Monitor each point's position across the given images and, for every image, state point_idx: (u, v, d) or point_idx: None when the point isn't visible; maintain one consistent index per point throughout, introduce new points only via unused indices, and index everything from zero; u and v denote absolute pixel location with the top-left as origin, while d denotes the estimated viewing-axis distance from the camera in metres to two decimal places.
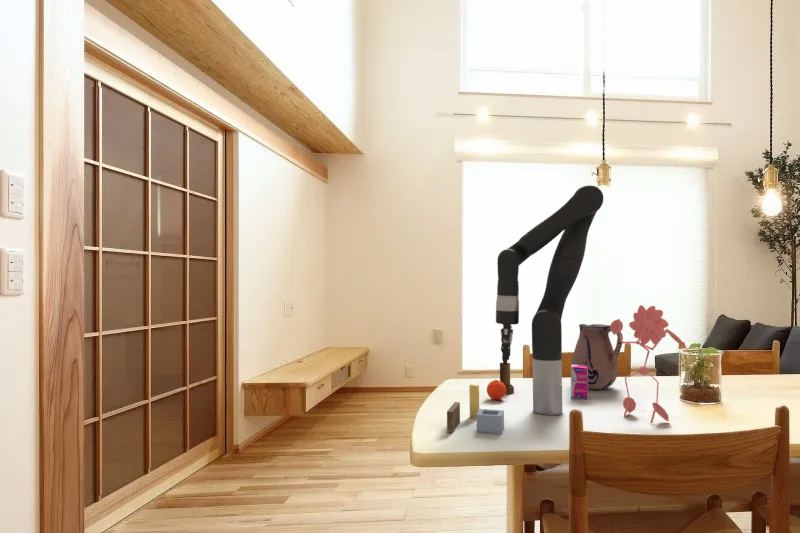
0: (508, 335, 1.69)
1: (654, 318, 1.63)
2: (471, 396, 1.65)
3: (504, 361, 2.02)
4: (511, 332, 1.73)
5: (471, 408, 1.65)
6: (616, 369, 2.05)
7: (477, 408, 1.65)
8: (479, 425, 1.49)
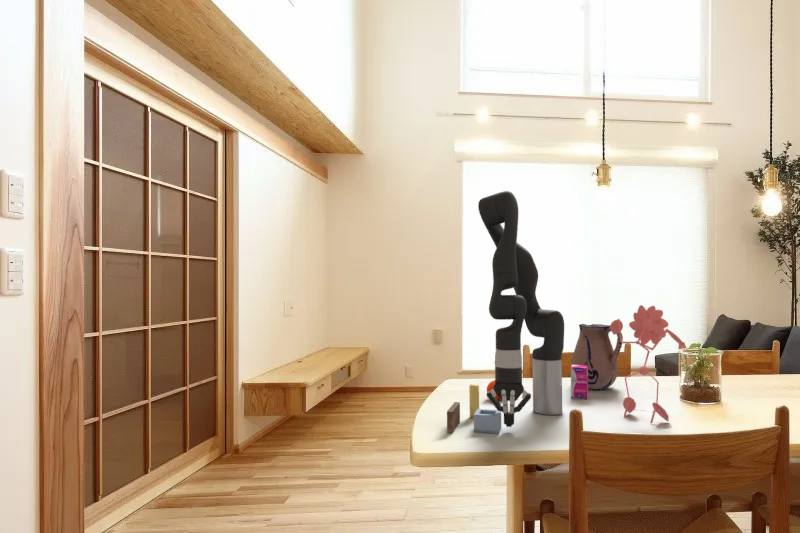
0: None
1: (654, 318, 1.63)
2: (471, 396, 1.65)
3: None
4: None
5: (471, 408, 1.65)
6: (616, 369, 2.05)
7: (477, 408, 1.65)
8: (476, 425, 1.49)
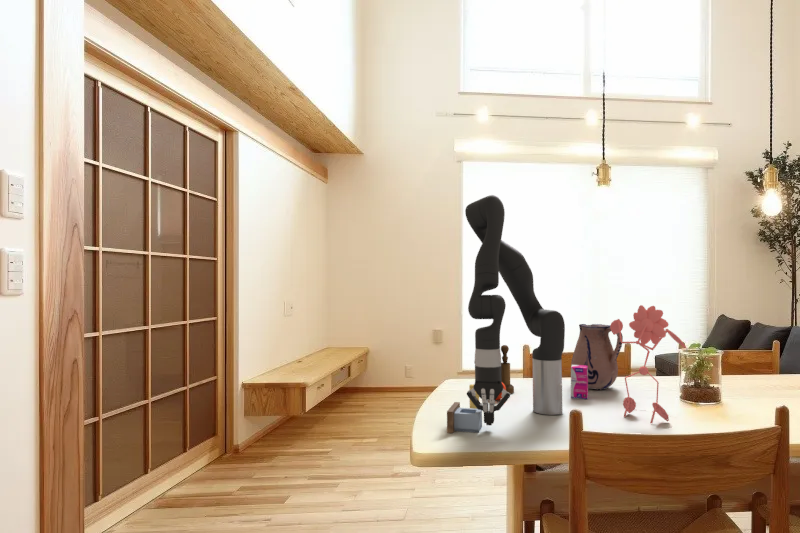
0: None
1: (654, 318, 1.63)
2: None
3: (504, 361, 2.02)
4: None
5: None
6: (616, 369, 2.05)
7: None
8: (457, 423, 1.51)
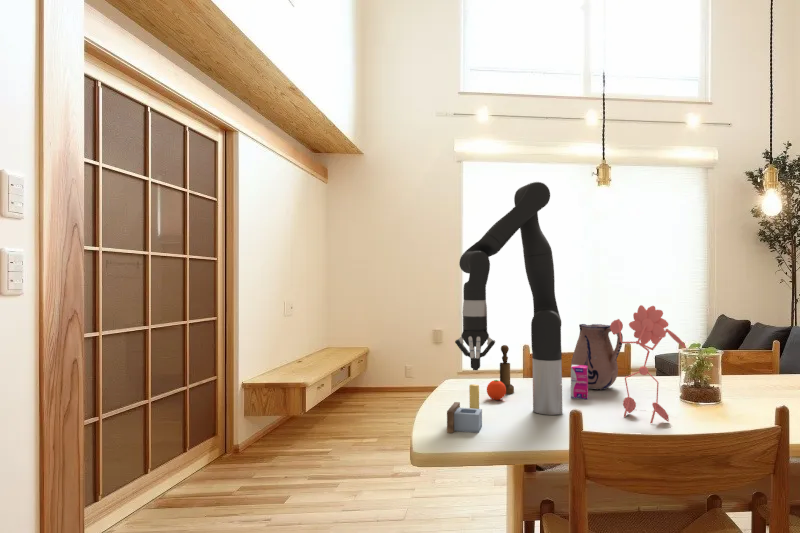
0: None
1: (654, 318, 1.63)
2: (471, 396, 1.65)
3: (504, 361, 2.02)
4: None
5: None
6: (616, 369, 2.05)
7: (477, 408, 1.65)
8: (457, 423, 1.51)
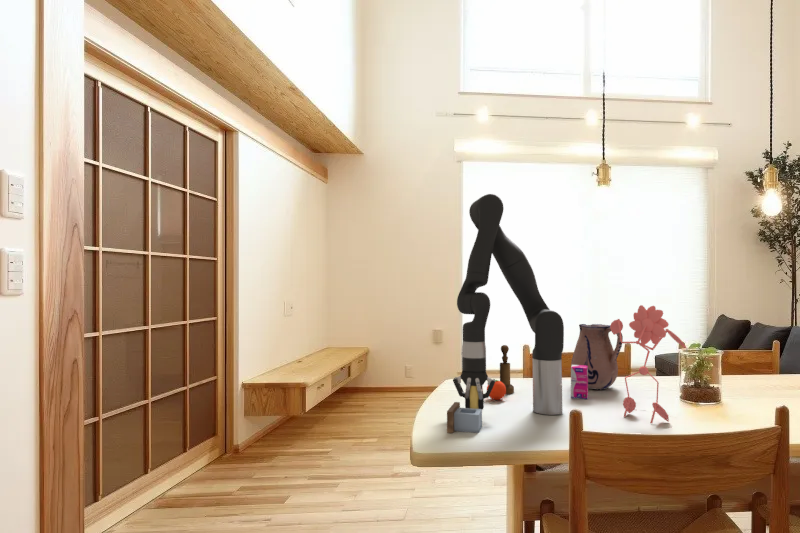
0: None
1: (654, 318, 1.63)
2: (471, 396, 1.65)
3: (504, 361, 2.02)
4: None
5: None
6: (616, 369, 2.05)
7: (477, 408, 1.65)
8: (457, 423, 1.51)
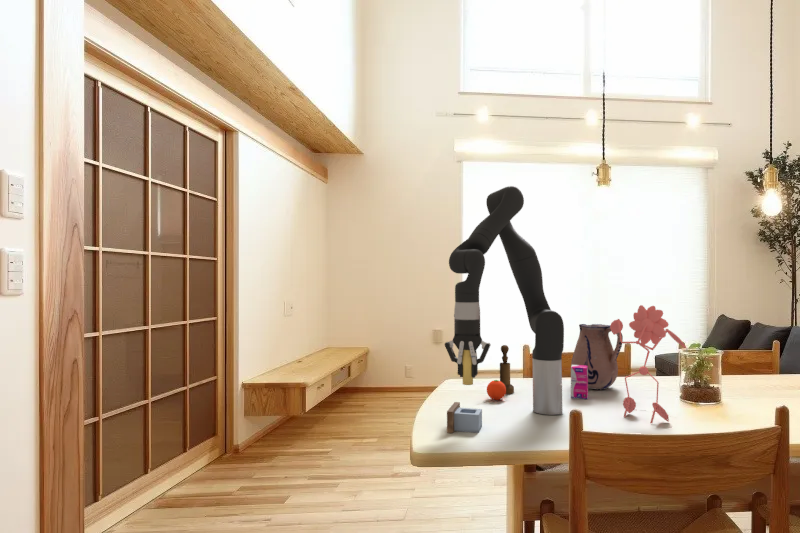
0: (487, 350, 1.53)
1: (654, 318, 1.63)
2: (464, 361, 1.53)
3: (504, 361, 2.02)
4: None
5: (464, 374, 1.53)
6: (616, 369, 2.05)
7: (470, 374, 1.53)
8: (457, 423, 1.51)
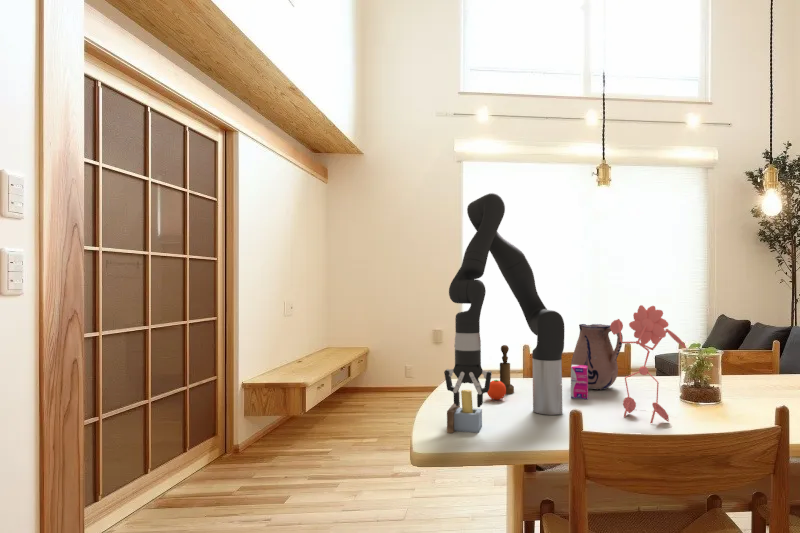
0: (490, 378, 1.53)
1: (654, 318, 1.63)
2: (463, 403, 1.52)
3: (504, 361, 2.02)
4: None
5: None
6: (616, 369, 2.05)
7: None
8: (457, 423, 1.51)
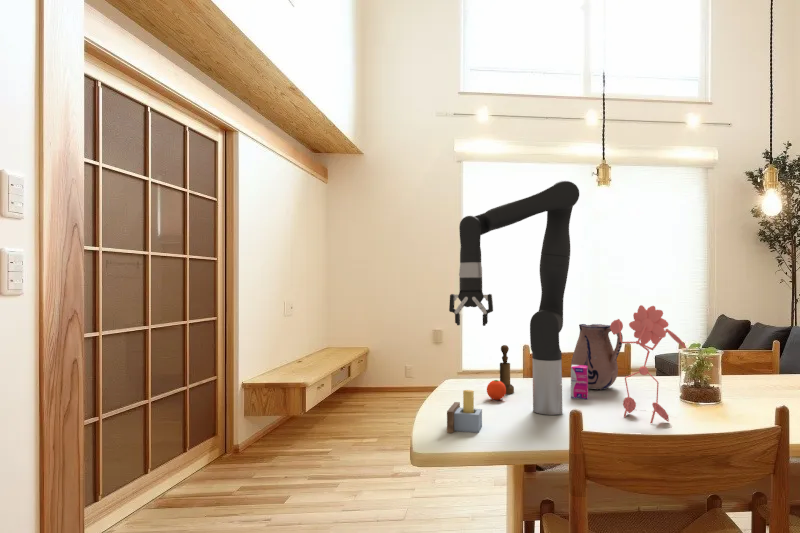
0: None
1: (654, 318, 1.63)
2: (465, 403, 1.53)
3: (504, 361, 2.02)
4: None
5: None
6: (616, 369, 2.05)
7: None
8: (457, 423, 1.51)
